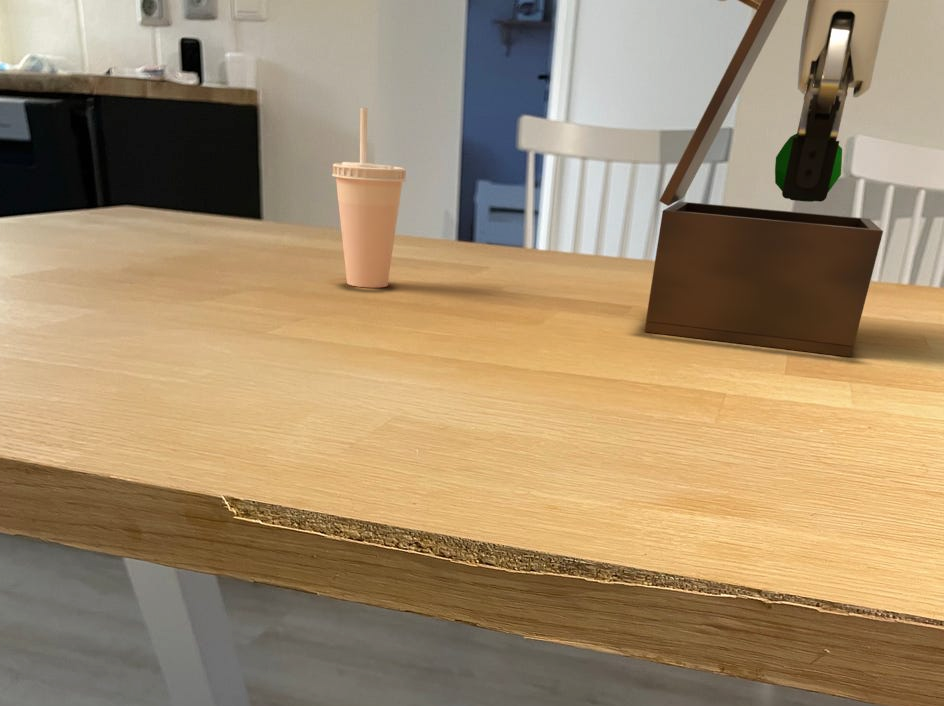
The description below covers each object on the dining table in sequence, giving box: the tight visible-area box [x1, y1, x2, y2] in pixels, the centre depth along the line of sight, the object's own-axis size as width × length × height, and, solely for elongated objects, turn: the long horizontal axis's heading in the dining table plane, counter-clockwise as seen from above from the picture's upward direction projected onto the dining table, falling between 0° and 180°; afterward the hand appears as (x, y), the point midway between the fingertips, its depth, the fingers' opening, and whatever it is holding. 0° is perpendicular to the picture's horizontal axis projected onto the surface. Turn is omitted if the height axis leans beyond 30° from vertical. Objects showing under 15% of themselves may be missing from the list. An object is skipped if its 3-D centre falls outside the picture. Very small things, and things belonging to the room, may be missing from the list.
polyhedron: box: [774, 133, 843, 203], centre depth 72 cm, size 5×5×5 cm
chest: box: [644, 200, 884, 358], centre depth 76 cm, size 16×13×9 cm
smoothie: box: [331, 107, 407, 289], centre depth 83 cm, size 6×6×14 cm
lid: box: [659, 0, 788, 207], centre depth 71 cm, size 16×13×5 cm
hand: (803, 195), depth 73 cm, fingers closed on polyhedron, 5 cm apart
